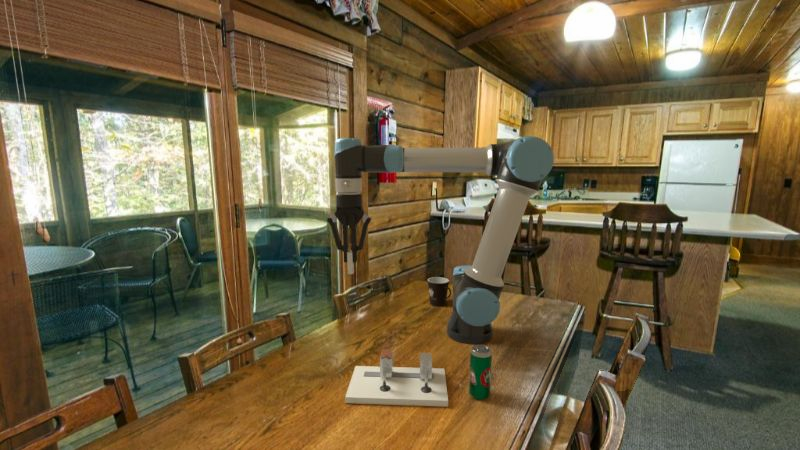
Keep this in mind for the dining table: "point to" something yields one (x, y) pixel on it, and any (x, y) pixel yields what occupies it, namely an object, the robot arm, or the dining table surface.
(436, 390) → the bolt plate
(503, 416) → the dining table surface
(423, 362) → the fixed leg
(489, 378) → the soda can
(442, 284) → the coffee mug
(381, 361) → the sliding leg
